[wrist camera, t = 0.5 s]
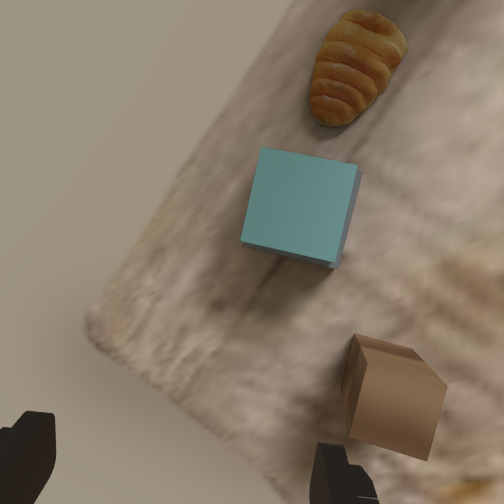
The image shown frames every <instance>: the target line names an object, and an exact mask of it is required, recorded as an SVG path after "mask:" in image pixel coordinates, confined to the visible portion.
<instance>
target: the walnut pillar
mask: <svg viewBox="0 0 504 504" xmlns="http://www.w3.org/2000/svg"><path fill="white" fill-rule="evenodd" d="M446 390H447V385H446V384H445V383H444V382H443V381H442V380H441V379H440V378H439V377H438V376H437V374H436V373H435V372H434V371H433V370H432V369H431V368H430V367H429V366H428V365H427V364H426V363H425V362H424V361H423V360H422V359H421V358H420V357H419V356H418V354H417V353H416V352H415V351H414V350H413V349H410V348H407V347H403V346H399V345H396V344H392V343H388V342H385V341H381V340H377V339H374V338H370V337H366V336H363V335H359V334H354V338H353V342H352V346H351V350H350V353H349V357H348V361H347V365H346V369H345V373H344V377H343V381H342V384H341V393H342V399H343V405H344V411H345V417H346V424H347V430H348V436H349V437H350V438H353V439H356V440H359V441H363V442H366V443H369V444H372V445H376V446H379V447H382V448H385V449H388V450H392V451H395V452H398V453H401V454H404V455H408V456H411V457H414V458H417V459H421V460H424V461H427V460H428V456H429V453H430V449H431V445H432V441H433V438H434V434H435V430H436V427H437V423H438V419H439V415H440V412H441V408H442V404H443V401H444V397H445V393H446Z"/></svg>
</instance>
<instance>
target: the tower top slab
mask: <svg viewBox="0 0 504 504" xmlns="http://www.w3.org/2000/svg"><path fill="white" fill-rule="evenodd" d="M357 167H358V165H354V164H349V163H344V162H339V161H334V160H329V159H323V158H318V157H313V156H308V155H303V154H298V153H292V152H287V151H282V150H277V149H272V148H267V147H261V150H260V154H259V159H258V163H257V168H256V172H255V176H254V181H253V185H252V190H251V194H250V199H249V203H248V208H247V212H246V216H245V221H244V225H243V230H242V234H241V239H240V241H243V242H248V243H252V244H257V245H261V246H265V247H270V248H274V249H278V250H283V251H287V252H291V253H296V254H300V255H304V256H309V257H313V258H317V259H322V260H326V261H330V262H335V260H336V256H337V252H338V248H339V243H340V239H341V235H342V231H343V226H344V222H345V218H346V214H347V209H348V205H349V201H350V197H351V192H352V188H353V184H354V180H355V175H356V171H357Z"/></svg>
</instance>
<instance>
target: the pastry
mask: <svg viewBox="0 0 504 504" xmlns="http://www.w3.org/2000/svg"><path fill="white" fill-rule="evenodd" d="M407 51H408V44H407V41H406V40H405V38H404V35H403V34H402V33H401V32H400V31H399V29H398V27H397V25H396V24H395V23H394V22H392V21H390V20H389V19H387V18H386V17H384V16H382V15H380V14H378V13H377V12H375V11H365V10H364V9H356V10H352V11H349V12H347V13H345V14H344V15H343V16H342V17H341V19H340V20H339V22H338V23H337V24H336V25H335V26H333V28H332V29H331V30H330V31H329V33H328V34H327V36H326V37H325V40H324V43H323V45H322V47H321V49H320V51H319V53H318V55H317V56H316V63H315V66H314V72H313V77H312V85H311V92H310V97H309V103H310V105H311V110H312V114H313V118H314V119H315V120H316V121H317V122H319V123H320V124H322V125H325V126H332V127H336V126H341V125H347V124H350V123H351V122H352V121H353V120H354V119H355V118H356V117H357V116H358V115H359V114H360V113H361V112H363V111H365V110H366V109H368V107H369V106H370V105H371V104H372V103H373V101H374V100H375V99H376V98H377V97H378V96H379V95H381V94H382V93H383V92H384V91H385V90H386V89H387V87H388V83H389V80H390V78H391V77H392V75H393V74H394V71H395V69H396V67H397V66H398V65H399V64H400V62H401V59H402V57H403V56H404V55H405V54H406V53H407Z"/></svg>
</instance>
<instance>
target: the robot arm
mask: <svg viewBox="0 0 504 504" xmlns="http://www.w3.org/2000/svg"><path fill="white" fill-rule="evenodd" d="M55 460H56V432H55V416H54V414H53V413H45V412H35V411H26V412H25V413H23V415H22V416H21V417H20V418H19V419H18V420H17V422H16V423H15V424H14V425H13V426H12V428H8V427H3V428H1V429H0V504H34V503H35V501H36V499H37V498H38V496H39V494H40V493H41V491H42V489H43V488H44V486H45V484H46V483H47V481H48V479H49V478H50V475H51V473H52V471H53V468H54V465H55ZM309 500H310V504H379V501H378V500H377V494H376V491H375V488H374V485H373V482H372V480H371V478H370V477H369V476H368V474H367V473H366V472H365V471H364V469H363V468H362V467H361V466H359V465H350V464H349V463H348V459H347V455H346V451H345V448H344V446H343V445H338V444H329V443H318V445H317V449H316V454H315V460H314V465H313V471H312V476H311V482H310V493H309Z"/></svg>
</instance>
